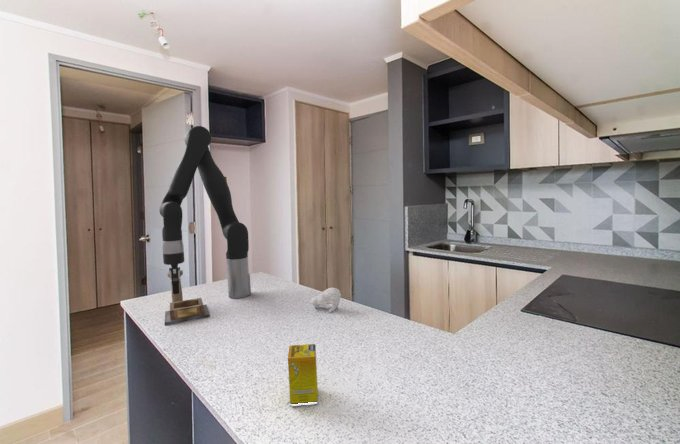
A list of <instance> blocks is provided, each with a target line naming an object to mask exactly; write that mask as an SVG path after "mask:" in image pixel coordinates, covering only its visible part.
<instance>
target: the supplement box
mask: <svg viewBox="0 0 680 444" xmlns="http://www.w3.org/2000/svg"><path fill="white" fill-rule="evenodd" d="M316 350H317V348H316V343H309V344H308V343H307V344H294V345H293V344H292V345H289V349H288V353H287V364H288V365H287V367H288V381H289V382H288V384H289V386H288V387H289V389H288V390H289V402H290V404H298V403H308V402H317V401H318V402H319V395H318V394H319V393H318V392H319V391H318V390H319V389H318V372H317V370H318V368H317V351H316Z"/></svg>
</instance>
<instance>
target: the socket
mask: <svg viewBox="0 0 680 444" xmlns="http://www.w3.org/2000/svg"><path fill="white" fill-rule="evenodd" d="M209 310H210V309H209V307H208V305H207V304H204V303H203V299H202V297H199V298H198V297H196V298H192V299H186V300H183V301H178V302H169V310H166V311H165V313H164V326H170V325H174V324H179V323H185V322H190V321H195V320H201V319H206V318H210V317H211V315H210V311H209Z"/></svg>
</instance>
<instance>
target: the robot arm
mask: <svg viewBox="0 0 680 444" xmlns="http://www.w3.org/2000/svg"><path fill="white" fill-rule="evenodd" d="M211 142H212V134H211V133H210V131H209V129H207V128H206V127H205V126H202V125H196V126H193V127H191V128H190V129H188V130H187V131H186V133H185V135H184V143H185V145H186V147H185V151H184V154H183V156H182V158H181V161H180V163H179V164H178V166H177V167H176V169H175V172H174V174H173V176H172V178H171V182H170V184H169V187H168V189H167V192H166V194H165V196H164V197H163V199H162V201H161V204H160V206H159V214H160V216H161V217H162V219H163V227H162V228H161V229H162V230H161V232H162V233H161V236H162V258H163V265H165V266H169V265H170V267H169V268H168V273H170V280H172V282H170V283H171V284H172V286H173V294H179V279H180V280H181V276H180V270H181V267H180V266H179V264H183V263H184V262H185V250H184V249H185V248H184V241H183V232H182V231H183V230H182V225H183V209H182V202H183V200H185V198H187V196H188V193H189V191H190V188H191V185H192V182H193V180H194V176H195V174H196V172H197V170H198V173H199V176H200V179H201V182H202V184H203V186H204V190H205V192H206V194H207V197H208V198H209V201H210V202H211V205H212V207H213V209H214V212H216V213H215V214H216V215H217V218H218V221H219V223H220V227H221V228H220V229H221V230H222V231H221V232H222V235H223V237H224V238H225V240H226V245H227V246H226V248H227V251H226V253H225V260H226V275H227V277H226V278H227V289H228V290H227V292H228V297H229V298H232V299H239V298H240V299H241V298H244V297H245V298H246V297H248V296H251V295H252V289H251V288H252V287H251V286H252V285H251V275H250V274H251V273H249V257H248V256H249V255H248V254H249V248H250V247H249V231H248V228H247V226H246V225H245V224H244V223H242V222H240V221H239V220H238V219H239V218H238V217H237V215H236V213H235V211H234V207H233V201H232V200H233V199H232V195H231V194H232V193H231V190H230V188H229V185H228V182H227V180H226V177H225V175H224V174H223V172H222V171H221V169H220V168H219V167H218V165H217V164H216V162H215V161H214V159H213V156H212V154H211V151H210V147H209V146H210V145H211ZM174 274H176V275H174ZM175 279H177V281H173V280H175ZM172 286H171V287H172Z"/></svg>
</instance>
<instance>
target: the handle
mask: <svg viewBox="0 0 680 444" xmlns="http://www.w3.org/2000/svg"><path fill="white" fill-rule="evenodd" d="M183 274H184V270H183V269H182V270H181V269H180V277H182V276H183ZM174 275H176V274H174ZM167 277H168V278H170V273H169V272H168V273H167ZM170 280H171V279H170ZM173 281H177V279H175V280H173ZM171 282H172V280H171ZM171 282H170V283H171ZM181 282H182V281H181V278H180V279H179V294H173V286H172V284H171V301H172V302H178V301H184V300H183V289H182V283H181ZM172 302H171V303H172Z"/></svg>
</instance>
